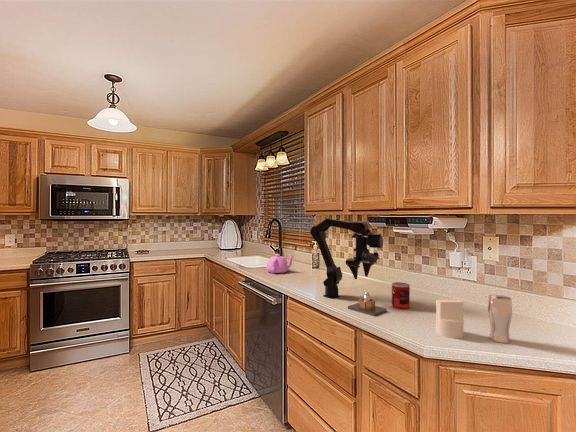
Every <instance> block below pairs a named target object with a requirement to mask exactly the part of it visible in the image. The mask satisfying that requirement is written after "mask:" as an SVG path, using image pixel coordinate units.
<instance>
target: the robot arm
mask: <svg viewBox="0 0 576 432" xmlns="http://www.w3.org/2000/svg"><path fill="white" fill-rule="evenodd" d="M331 227H334V228H339V229H345V230H349V231H351V232H353V235H352V236H351V238H352V239H353V238H354V239H355V248H353V251H354V252H355V256H353V258H347V259H345V265H346V266H347V267H348V268H349V270H350V272H351V274H352V276H353V278H354V279H355V280H358V273H359V269H360V268H361V264H362V268H363V273H364V276H365V277H369V274H370V273H369V272H370V270H371V268H372V266H373V265H375V264H376V263H377V262H378V260H380V255H379V252H375V251H374V252H370V249H369V248H374V249H375V248H376V249H382V248H383V246H384V239H383V236H382V235H383V234H381V233H379V234H377V233H376V234H375V233H373V232H372V231H371V230H370V227H369V224H368V223H367V222H365V221H356V222H355V221H354V222H352V221H346V220H338V219H334V218H333V219H332V218H324V220H323V221H321V222H320V223H318V224H316V225H315V226H311V228H310V231H309V233H310V235H311V237H312V239H313V240H314V241H315V242H316V243H317V246H318V248H319V251H320V253H321V256H322V258H323V263H324V265H325V267H326V279H324V281H323V282H322V283H323V286H324V288H325V289H324V294H323V297H325V298H329V299H336V298H339V297H340V296H341V295H339V284H340V282H341V281H342V280H343V272H342V269H341V267H340V266H337V265H336V264H335V262H334V258H333V256H332V253H331V251H330V249H329V245H328V243H327V234H326V232H327V230H329V229H330V228H331ZM368 247H369V248H368Z"/></svg>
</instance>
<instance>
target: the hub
mask: <svg viewBox="0 0 576 432" xmlns="http://www.w3.org/2000/svg"><path fill="white" fill-rule="evenodd" d="M358 303H359V308H361V309H364V310H365V309H366V310H373V309H375V306H376V300H375V299H374V298H371V297H370V301H364V297H360V298H358Z"/></svg>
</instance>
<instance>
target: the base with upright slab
mask: <svg viewBox="0 0 576 432" xmlns="http://www.w3.org/2000/svg"><path fill="white" fill-rule="evenodd" d="M435 304H436V309H435V311H436V312H435V314H436V315H435V332H436V334H438V335H440V336H441V337H444V338H445V337H446V338H448V339H463V338H464V330H465V326H464V324H465V319H464V301H463V300H461V299H436V303H435Z"/></svg>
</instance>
